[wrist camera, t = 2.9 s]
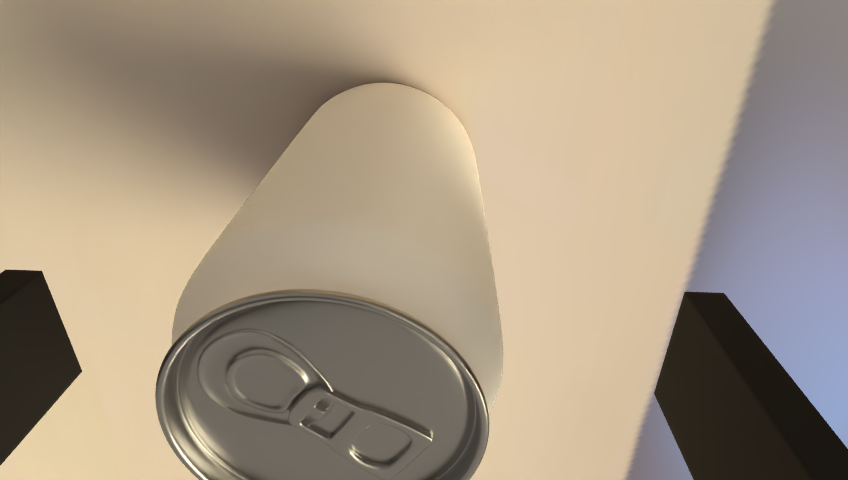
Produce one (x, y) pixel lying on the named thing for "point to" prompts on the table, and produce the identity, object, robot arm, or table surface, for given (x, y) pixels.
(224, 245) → the can
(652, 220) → the table surface
